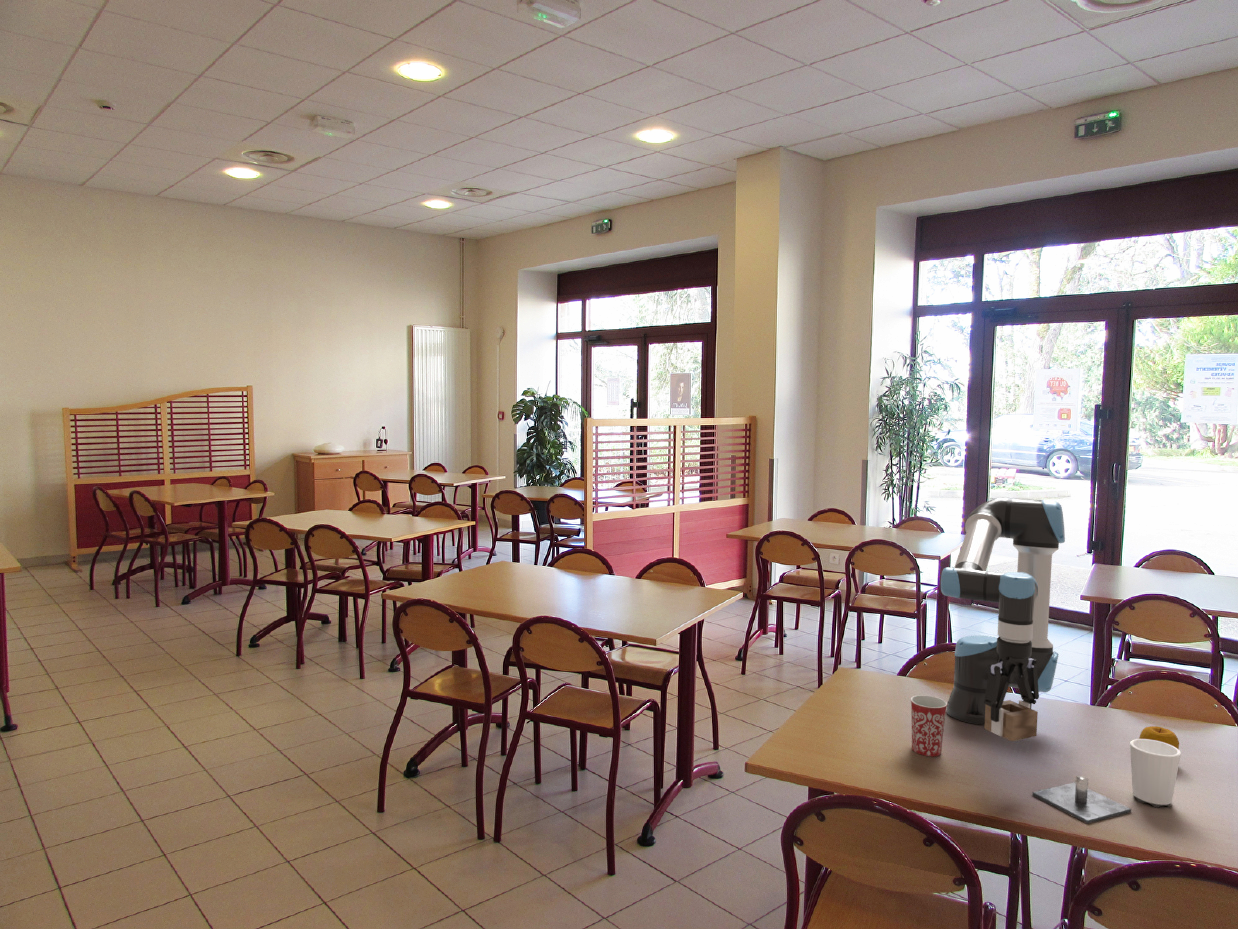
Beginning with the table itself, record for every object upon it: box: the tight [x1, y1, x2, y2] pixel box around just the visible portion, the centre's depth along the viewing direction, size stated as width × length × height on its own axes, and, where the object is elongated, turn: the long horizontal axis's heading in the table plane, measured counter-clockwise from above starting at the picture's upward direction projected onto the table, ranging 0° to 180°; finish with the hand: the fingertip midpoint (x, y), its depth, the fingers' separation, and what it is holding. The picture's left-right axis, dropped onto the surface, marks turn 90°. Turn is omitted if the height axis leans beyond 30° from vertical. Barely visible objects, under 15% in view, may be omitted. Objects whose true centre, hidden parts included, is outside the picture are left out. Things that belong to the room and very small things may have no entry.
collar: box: [984, 699, 1038, 742], centre depth 195 cm, size 8×8×6 cm
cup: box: [1129, 738, 1182, 808], centre depth 188 cm, size 10×10×13 cm
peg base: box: [1032, 775, 1132, 825], centre depth 186 cm, size 14×14×6 cm
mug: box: [910, 694, 948, 757], centre depth 215 cm, size 13×9×14 cm
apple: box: [1138, 725, 1180, 750], centre depth 209 cm, size 8×8×9 cm
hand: (1010, 731), depth 196 cm, fingers closed on collar, 8 cm apart
